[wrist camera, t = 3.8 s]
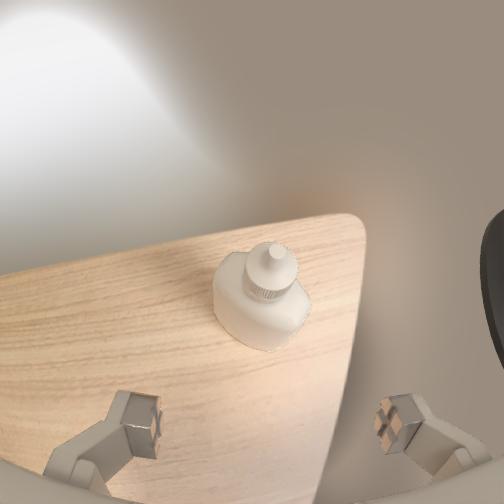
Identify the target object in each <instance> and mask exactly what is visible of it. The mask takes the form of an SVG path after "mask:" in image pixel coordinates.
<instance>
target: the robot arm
mask: <svg viewBox="0 0 504 504" xmlns="http://www.w3.org/2000/svg"><path fill="white" fill-rule="evenodd" d="M161 404H162V403H161V397H160V396H155V395H149V394H143V393H137V392H130V391H124V390H118V391H117V392H116V395H115V397H114V399H113V402H112V404H111V407H110V409H109V412H108V414H107V417H106V419H105V421H102V420H101V421H99V422H98V423H96V424H95V425H93V426H91V427H90V428H88V429H87V430H85V431H83V432H82V433H80V434H78V435H77V436H75V437H74V438H72V439H70V440H69V441H67V442H65V443H64V444H62V445H60V446H59V447H57V448H55V449H54V450H53V453H52V455H51V457H50V459H49V461H48V463H47V466H46V468H45V470H44V472H43V475H40V474H38V473H35V472H33V471H30V470H28V469H26V468H23V467H21V466H19V465H16V464H14V463H12V462H10V461H7V460H5V459H3V458H1V457H0V504H145V503H139V502H134V501H129V500H124V499H120V498H115V497H112V496H111V494H110V492H109V490H108V488H107V486H106V485H105V483H106V482H107V481H108V480H109V479H110V478H111V477H113V476H114V475H115V474H116V473H117V472H118V471H119V470H120V469H121V468H123V467H124V466H125V465H126V464H127V463H128V462H129V461H130V460H131V459H132V458H133V456H135V457H142V458H149V459H157V456H158V451H159V446H160V445H159V439H158V438H160V437H161V436H162V431H163V412H162V411H161V410H160V408H161ZM381 406H382V408H381V409H380V410H379V411H378V412H377V413H376V415H375V418H374V429H375V432H376V434H377V435H378V436H380V437H381V438H382V439H381V442H380V444H381V446H382V448H383V450H384V452H385V455H387V454H393V453H399V452H404V453H405V454H406V455H407V456H409V457H410V458H411V459H412V460H413V461H415V462H416V463H417V464H418V465H420V466H421V467H422V468H423V469H425V470H426V471H427V472H428V473H429V474H431V475H432V476H433V478H432V480H431V481H430V482H429V483H428V484H427V485H426V486H423V487H420V488H416V489H413V490H409V491H406V492H402V493H398V494H394V495H391V496H386V497H382V498H378V499H373V500H368V501H363V502H358V503H352V504H504V454H503V455H501V456H499V457H497V458H495V459H492V457H491V456H490V455H489V453H488V451H487V450H486V448H485V447H484V445H483V444H482V442H481V441H480V440H479V439H477V438H475V437H473V436H471V435H469V434H468V433H466V432H464V431H462V430H460V429H458V428H456V427H455V426H453V425H451V424H449V423H447V422H446V421H443V420H442V419H440V418H436V417H435V416H434V414H433V413H432V411H431V409H430V408H429V406H428V405H427V403H426V402H425V400H424V399H423V397H422V396H421V394H419V393H411V394H407V395H398V396H391V397H385V398H384V399H383V400H382V402H381Z"/></svg>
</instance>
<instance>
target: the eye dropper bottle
mask: <svg viewBox="0 0 504 504" xmlns="http://www.w3.org/2000/svg"><path fill="white" fill-rule="evenodd" d="M298 268H299V267H298V262H297V259H296V257H295V255H294V254H293V253H292V251H291V250H290V249H288V247H286V246H284V245H281V244H279V243H276V242H264V243H261V244H259V245H257V246H255V247H254V248H252V250H251V251H250V252H249V253H246V252H232V253H230V254H229V255H228V256H227V257H226V258H225V259H224V260H223V261H222V263H221V264H220V265H219V267H218V268H217V269H216V271H215V273H214V276H213V304H214V313H215V316H216V317H217V319H218V321H219V322H220V323H221V325H222V326H223V327H224V328H225V329H226V331H227V332H228V333H230V334H231V335H232V336H233V337H234V338H236V339H237V340H238V341H240V342H242V343H243V344H245V345H247V346H249V347H252V348H255V349H258V350H261V351H266V352H274V351H276V350H278V349H279V348H280V347H281V346H282V345H283V344H284V343H285V342H287V341H288V340H289V339H290V338H291V337H292V336H293V335H294V334H295V333H296V332H297V331H298V330H299V328H300V327H301V325H302V324H303V322H304V321H305V319H306V317H307V316H308V314H309V312H310V310H311V307H312V303H311V299H310V297H309V295H308V294H307V292H306V290H305V289H304V288H303V286H302V285H301V284H300V282H299V281H298V280H297V279H296V278H297V276H298V275H297V274H298V271H299V270H298Z"/></svg>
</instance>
